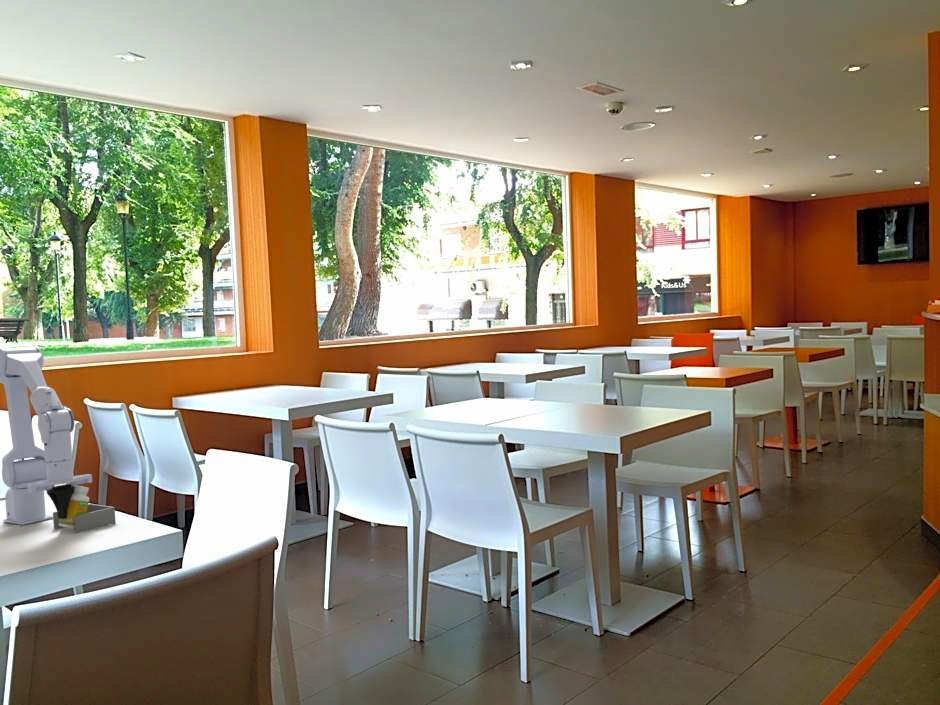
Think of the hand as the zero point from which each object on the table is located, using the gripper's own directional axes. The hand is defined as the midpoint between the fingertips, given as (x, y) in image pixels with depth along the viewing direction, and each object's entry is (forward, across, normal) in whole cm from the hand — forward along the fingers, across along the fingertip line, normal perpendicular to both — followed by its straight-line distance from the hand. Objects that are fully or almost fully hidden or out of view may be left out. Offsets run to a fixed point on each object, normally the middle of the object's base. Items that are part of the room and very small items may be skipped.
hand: (63, 518), depth 189 cm
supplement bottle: (+3, +2, +1) cm, 3 cm away
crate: (+3, +6, +1) cm, 7 cm away
